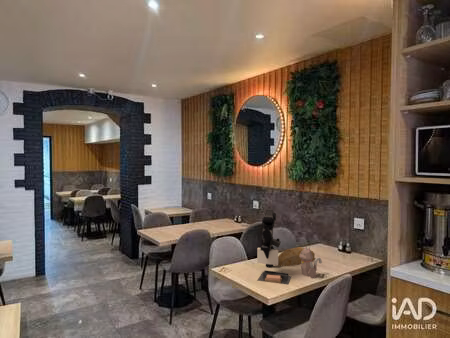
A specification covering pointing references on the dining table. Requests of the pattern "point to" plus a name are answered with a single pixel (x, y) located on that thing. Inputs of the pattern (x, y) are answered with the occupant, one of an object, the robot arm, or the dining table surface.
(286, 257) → the bread
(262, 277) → the rack
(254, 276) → the dining table surface
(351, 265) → the dining table surface
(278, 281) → the offcut lower
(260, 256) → the beige rectangular panel
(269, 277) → the offcut upper
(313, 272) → the toy
